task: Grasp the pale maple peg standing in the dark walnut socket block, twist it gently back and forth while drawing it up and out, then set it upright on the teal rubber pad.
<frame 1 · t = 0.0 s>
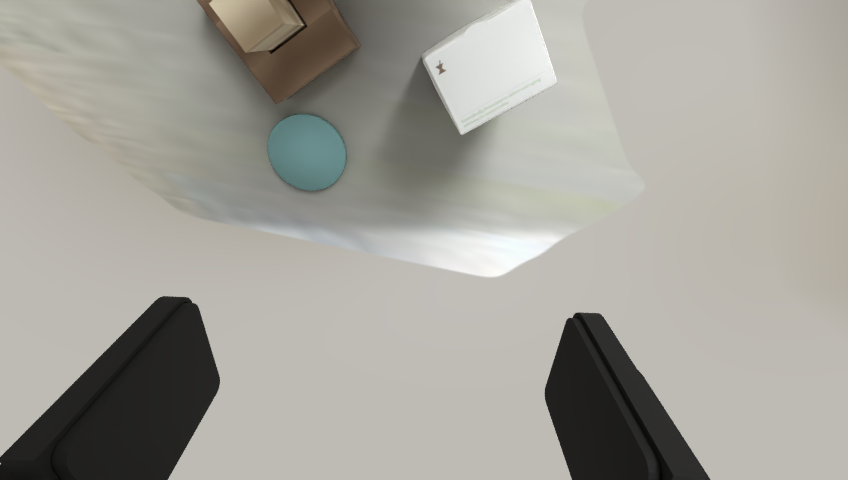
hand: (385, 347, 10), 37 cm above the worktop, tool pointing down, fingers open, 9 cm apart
skincare box: (466, 59, 40), on the worktop
maple peg: (268, 16, 34), in the walnut socket block
teal rubber pad: (308, 152, 45), on the worktop
walnut socket block: (286, 18, 38), on the worktop
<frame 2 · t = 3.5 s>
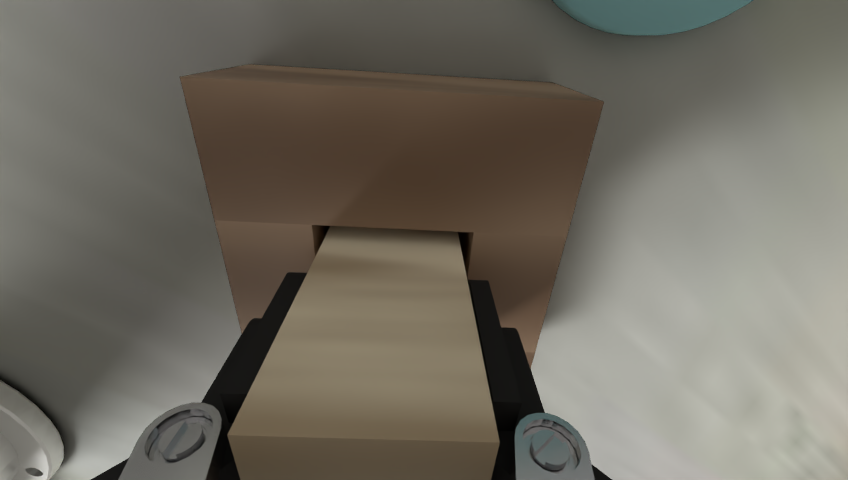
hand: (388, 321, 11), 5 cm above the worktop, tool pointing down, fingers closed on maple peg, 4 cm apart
maple peg: (388, 321, 11), in the walnut socket block, touching gripper
walnut socket block: (398, 233, 15), on the worktop
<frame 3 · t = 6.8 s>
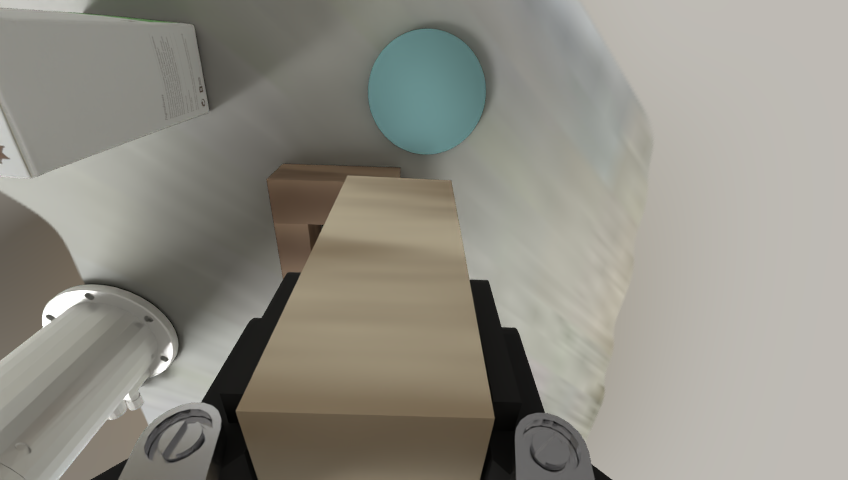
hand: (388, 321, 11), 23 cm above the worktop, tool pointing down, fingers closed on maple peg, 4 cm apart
skincare box: (150, 68, 28), on the worktop
maple peg: (389, 302, 11), point 22 cm above the worktop, touching gripper
teal rubber pad: (426, 94, 29), on the worktop
walnut socket block: (346, 228, 35), on the worktop
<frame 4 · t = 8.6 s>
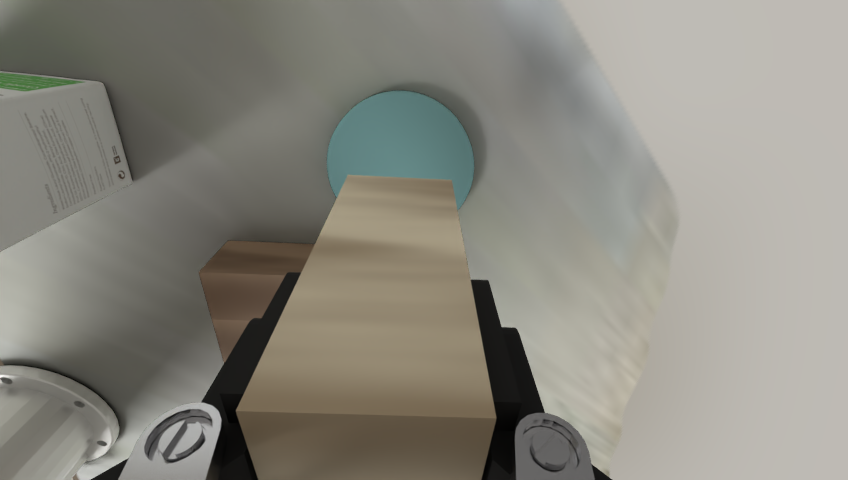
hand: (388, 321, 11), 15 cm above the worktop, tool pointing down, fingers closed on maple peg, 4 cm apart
skincare box: (55, 131, 23), on the worktop
maple peg: (390, 302, 11), point 14 cm above the worktop, touching gripper
teal rubber pad: (401, 165, 24), on the worktop
walnut socket block: (308, 310, 29), on the worktop
when the fingers open (8 cm above the worktop, at t = 10.2 s): maple peg drops 1 cm, resting on teal rubber pad.
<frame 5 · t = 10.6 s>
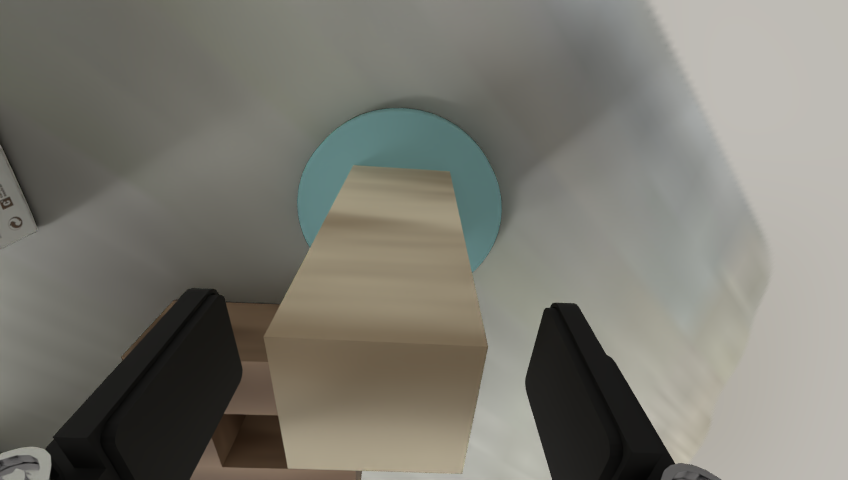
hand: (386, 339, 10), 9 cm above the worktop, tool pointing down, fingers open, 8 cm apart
maple peg: (392, 276, 12), on the teal rubber pad, point 6 cm above the worktop
teal rubber pad: (401, 208, 17), on the worktop
walnut socket block: (282, 380, 23), on the worktop
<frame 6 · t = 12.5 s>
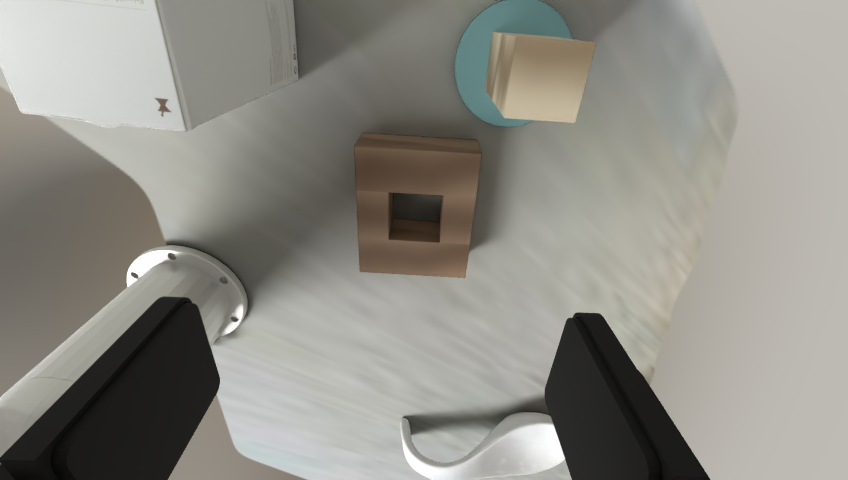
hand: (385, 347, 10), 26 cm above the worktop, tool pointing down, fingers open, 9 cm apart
spoon rest: (483, 423, 54), on the worktop
skincare box: (245, 35, 29), on the worktop
maple peg: (528, 71, 24), on the teal rubber pad, point 6 cm above the worktop
teal rubber pad: (511, 65, 29), on the worktop
walnut socket block: (417, 199, 36), on the worktop
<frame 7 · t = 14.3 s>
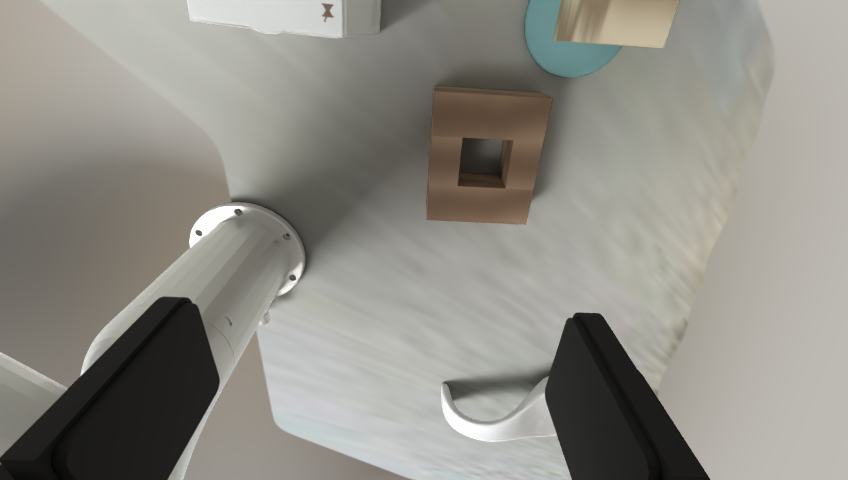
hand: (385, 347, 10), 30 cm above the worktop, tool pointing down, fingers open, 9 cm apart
spoon rest: (519, 387, 56), on the worktop
maple peg: (607, 12, 27), on the teal rubber pad, point 6 cm above the worktop
teal rubber pad: (576, 19, 32), on the worktop
walnut socket block: (478, 152, 38), on the worktop
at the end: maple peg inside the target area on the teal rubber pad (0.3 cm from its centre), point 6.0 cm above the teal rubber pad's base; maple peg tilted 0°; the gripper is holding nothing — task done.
